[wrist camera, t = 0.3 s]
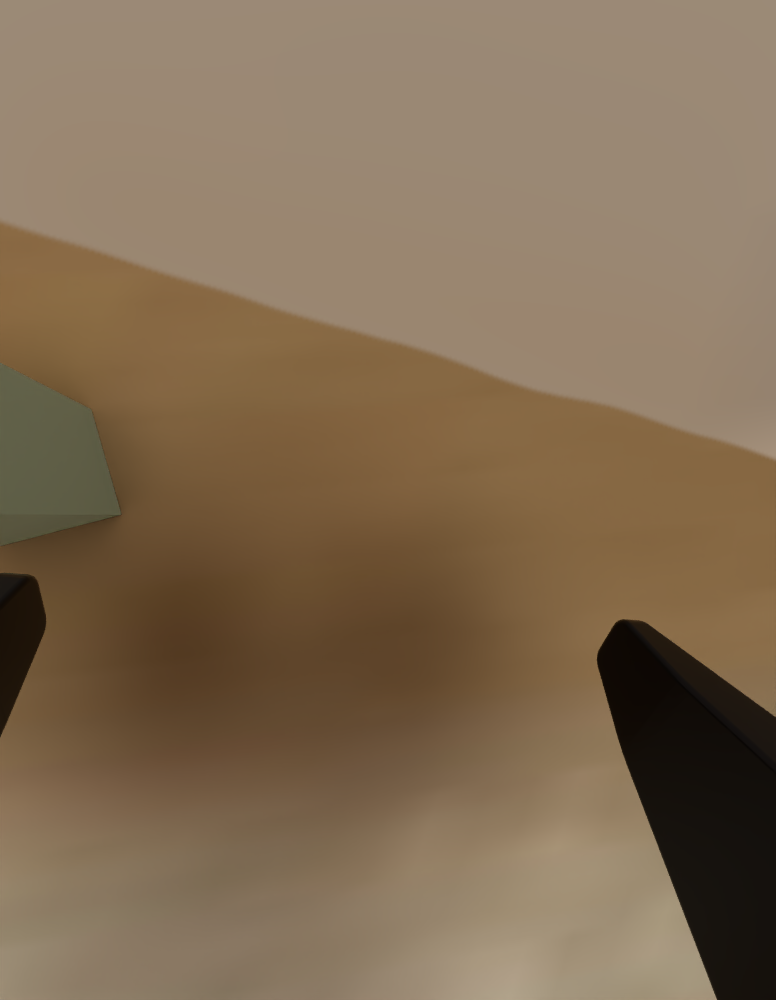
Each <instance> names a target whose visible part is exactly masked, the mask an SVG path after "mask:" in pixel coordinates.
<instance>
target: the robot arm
mask: <svg viewBox="0 0 776 1000" xmlns="http://www.w3.org/2000/svg"><path fill="white" fill-rule="evenodd" d="M45 627H46V614H45V610H44V605H43V601H42V597H41V593H40V588H39V584H38V582H37V580H36V578H35V577H34V576H31V575H27V574H13V573H0V737H1V734H2V732H3V730H4V728H5V725H6V723H7V721H8V718H9V716H10V714H11V711H12V709H13V706H14V704H15V702H16V699H17V697H18V694H19V692H20V690H21V687H22V685H23V682H24V680H25V678H26V675H27V673H28V670H29V668H30V666H31V663H32V661H33V658H34V656H35V654H36V651H37V649H38V646H39V644H40V642H41V639H42V637H43V634H44V631H45ZM597 664H598V669H599V672H600V676H601V679H602V683H603V686H604V690H605V693H606V697H607V701H608V704H609V708H610V711H611V715H612V718H613V722H614V726H615V729H616V733H617V736H618V740H619V743H620V746H621V749H622V752H623V755H624V758H625V761H626V764H627V766H628V769H629V772H630V774H631V777H632V780H633V782H634V785H635V787H636V790H637V793H638V795H639V798H640V800H641V803H642V806H643V808H644V811H645V813H646V816H647V819H648V821H649V824H650V826H651V829H652V832H653V834H654V837H655V839H656V842H657V845H658V847H659V850H660V853H661V855H662V858H663V860H664V863H665V866H666V868H667V871H668V873H669V876H670V879H671V881H672V884H673V886H674V889H675V892H676V894H677V897H678V899H679V902H680V905H681V907H682V910H683V912H684V915H685V918H686V920H687V923H688V926H689V928H690V931H691V933H692V936H693V939H694V941H695V944H696V946H697V949H698V952H699V954H700V957H701V959H702V962H703V965H704V967H705V970H706V972H707V975H708V978H709V980H710V983H711V985H712V988H713V991H714V993H715V996H716V998H717V1000H776V717H775V716H773V715H772V714H770V713H769V712H768V711H766V710H765V709H764V708H762V707H761V706H760V705H758V704H757V703H755V702H754V701H753V700H751V699H750V698H749V697H747V696H746V695H744V694H743V693H742V692H740V691H739V690H738V689H736V688H735V687H733V686H732V685H731V684H729V683H728V682H727V681H725V680H724V679H723V678H721V677H720V676H718V675H717V674H716V673H714V672H713V671H712V670H710V669H709V668H707V667H706V666H705V665H703V664H702V663H701V662H699V661H698V660H696V659H695V658H694V657H692V656H691V655H690V654H688V653H687V652H685V651H684V650H683V649H681V648H680V647H679V646H677V645H676V644H675V643H673V642H672V641H670V640H669V639H668V638H666V637H665V636H664V635H662V634H661V633H659V632H658V631H657V630H655V629H654V628H653V627H651V626H650V625H648V624H647V623H645V622H643V621H639V620H625V619H623V620H619V621H618V622H616V623H615V624H614V626H613V627H612V629H611V631H610V632H609V634H608V636H607V637H606V639H605V641H604V642H603V644H602V645H601V647H600V649H599V651H598V654H597Z"/></svg>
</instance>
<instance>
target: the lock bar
mask: <svg viewBox="0 0 776 1000" xmlns="http://www.w3.org/2000/svg"><path fill="white" fill-rule="evenodd" d="M118 515H122V514H121V511H120V508H119V504H118V501H117V497H116V494H115V490H114V487H113V483H112V480H111V476H110V473H109V469H108V466H107V462H106V459H105V455H104V452H103V448H102V445H101V442H100V438H99V435H98V431H97V428H96V424H95V421H94V417H93V414H92V410H91V409H90V408H88V407H86V406H84V405H82V404H80V403H78V402H76V401H74V400H72V399H70V398H68V397H66V396H64V395H62V394H60V393H58V392H56V391H54V390H52V389H50V388H49V387H47V386H45V385H43V384H41V383H39V382H37V381H35V380H33V379H31V378H29V377H27V376H25V375H23V374H21V373H19V372H17V371H15V370H13V369H11V368H9V367H8V366H6V365H4V364H2V363H0V546H2V545H7V544H11V543H14V542H18V541H22V540H26V539H30V538H34V537H37V536H41V535H45V534H49V533H53V532H57V531H61V530H64V529H68V528H72V527H76V526H80V525H84V524H88V523H91V522H95V521H99V520H103V519H107V518H111V517H114V516H118Z"/></svg>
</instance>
